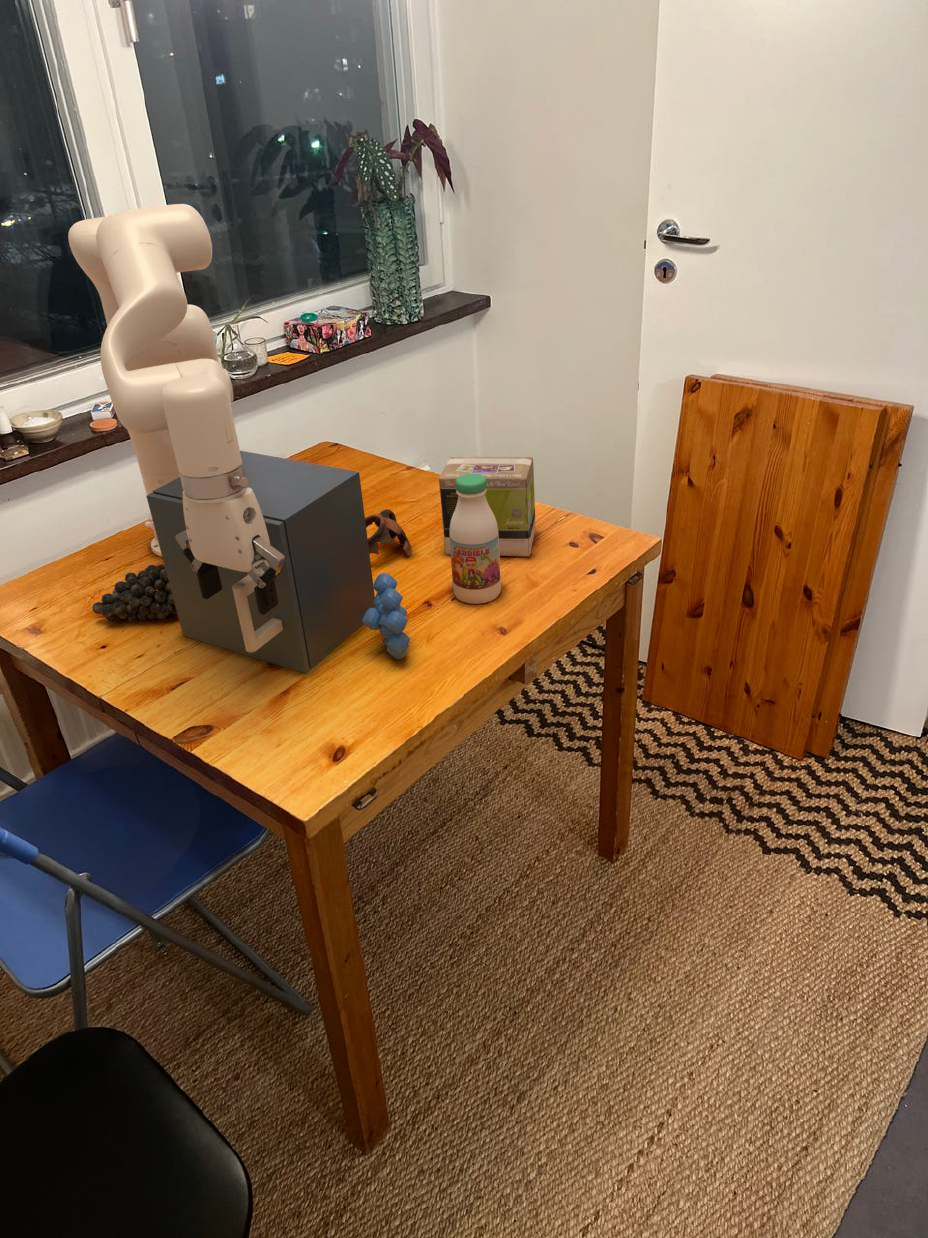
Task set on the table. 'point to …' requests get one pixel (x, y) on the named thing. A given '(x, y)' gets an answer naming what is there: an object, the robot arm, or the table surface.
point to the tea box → (496, 498)
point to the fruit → (139, 597)
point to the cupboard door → (231, 597)
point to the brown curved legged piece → (386, 531)
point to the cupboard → (315, 542)
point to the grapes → (388, 616)
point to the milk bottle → (474, 543)
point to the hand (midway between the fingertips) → (240, 601)
